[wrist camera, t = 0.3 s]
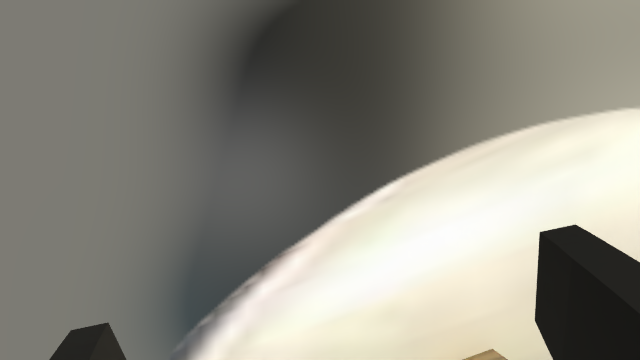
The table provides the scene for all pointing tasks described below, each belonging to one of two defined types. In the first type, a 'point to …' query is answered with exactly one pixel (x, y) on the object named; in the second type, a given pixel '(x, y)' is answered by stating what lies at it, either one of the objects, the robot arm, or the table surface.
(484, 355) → the oak block
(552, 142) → the table surface
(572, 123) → the table surface
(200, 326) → the table surface
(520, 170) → the table surface
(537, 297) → the robot arm
